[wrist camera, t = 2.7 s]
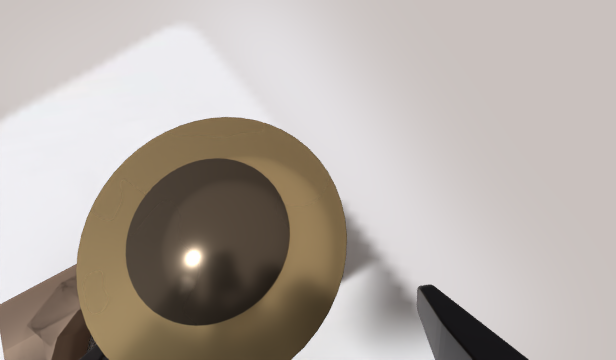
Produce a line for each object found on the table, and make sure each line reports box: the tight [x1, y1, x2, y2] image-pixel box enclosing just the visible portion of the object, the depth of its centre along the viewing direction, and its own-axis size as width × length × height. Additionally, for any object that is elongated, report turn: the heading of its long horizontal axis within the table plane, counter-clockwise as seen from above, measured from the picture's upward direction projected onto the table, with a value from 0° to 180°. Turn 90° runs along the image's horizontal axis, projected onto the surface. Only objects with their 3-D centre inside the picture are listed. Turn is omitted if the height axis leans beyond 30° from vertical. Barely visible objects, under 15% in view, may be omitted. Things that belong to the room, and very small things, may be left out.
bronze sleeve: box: [76, 117, 347, 360], centre depth 12 cm, size 4×4×15 cm
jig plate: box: [0, 264, 91, 360], centre depth 17 cm, size 11×10×2 cm
